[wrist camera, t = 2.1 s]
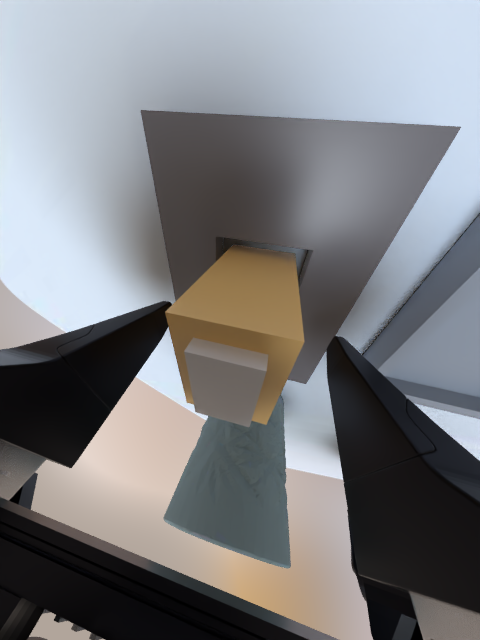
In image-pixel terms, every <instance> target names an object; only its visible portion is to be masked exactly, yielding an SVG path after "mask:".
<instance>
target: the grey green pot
mask: <svg viewBox="0 0 480 640" xmlns="http://www.w3.org/2000/svg"><path fill="white" fill-rule="evenodd" d="M284 439H285V437H284V408H283V399H282V397H281V395H280V396H279V398H278V400H277V403H276V405H275V407H274V409H273V411H272V413H271V416H270V418H269V420H268V422H267V424H266V425H265V424H262V423H258V422H254V421H251V424H250V427H246V426H242V425H239V424H235V423H232V422H228V421H225V420H222V419H218V418H215V417H211V416H208V419H207V421H206V422H205V424H204V425H203V427H202V431H201V435H200V438H199V439H198V442H197V445H196V447H195V449H194V450H193V452H192V454H191V457H190V458H189V461H188V463H187V465H186V467H185V469H184V472H183V474H182V476H181V479H180V481H179V483H178V486H177V488H176V491H175V493H174V495H173V497H172V500H171V502H170V504H169V506H168V509H167V511H166V513H165V516H164V521H165V522H167V523H168V524H170V525H172V526H174V527H176V528H178V529H180V530H182V531H184V532H186V533H188V534H191V535H193V536H195V537H198V538H200V539H203V540H206V541H208V542H211V543H213V544H216V545H219V546H221V547H224V548H227V549H229V550H232V551H235V552H238V553H240V554H243V555H246V556H249V557H252V558H254V559H257V560H260V561H263V562H266V563H269V564H273V565H276V566H280V567H284V568H290V566H291V563H290V545H289V530H288V528H289V527H288V513H287V494H286V489H285V483H286V472H285V469H286V458H285V440H284Z"/></svg>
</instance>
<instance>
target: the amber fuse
mask: <svg viewBox="0 0 480 640" xmlns="http://www.w3.org/2000/svg"><path fill="white" fill-rule="evenodd" d="M165 314H166V318H167V322H168V326H169V330H170V335H171V339H172V343H173V347H174V351H175V355H176V359H177V363H178V368H179V372H180V376H181V380H182V384H183V388H184V392H185V396H186V401H187V403H191V404H194V406H195V412H197V413H201V414H204V415H208V416H211V417H215V418H218V419H222V420H225V421H228V422H232V423H235V424H239V425H242V426H246V427H250V424H251V421H254V422H258V423H262V424H265V425H266V424H267V422H268V420H269V418H270V416H271V413H272V411H273V409H274V407H275V405H276V403H277V400H278V398H279V396H280V394H281V392H282V390H283V387H284V385H285V383H286V381H287V379H288V377H289V374H290V372H291V370H292V368H293V366H294V364H295V361H296V359H297V357H298V355H299V353H300V351H301V348H302V346H303V344H304V333H303V323H302V314H301V304H300V295H299V286H298V276H297V267H296V257H295V254H294V253H288V252H281V251H274V250H268V249H261V248H255V247H248V246H241V245H235V244H234V245H233V246H232V247H231V248H229V249H228V250H227V251H226V252H225V253H224V254H223V255H222V256H221V257H220V258H219V259H218V260H217V261H216V262H215V263H214V264H213V265H212V266H211V267H210V268H209V269H208V270H207V271H206V272H205V273H204V274H203V275H202V276H201V277H200V278H199V279H198V280H197V281H196V282H195V283H194V284H193V285H192V286H191V287H190V288H189V289H188V290H187V291H186V292H185V293H184V294H183V295H182V296H181V297H180V298H179V299H178V300H177V301H176V302H175V303H174V304H173V305H172V306H171V307H170V308H169V309H168V310H167V311H166V312H165Z"/></svg>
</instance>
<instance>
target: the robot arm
mask: <svg viewBox="0 0 480 640" xmlns="http://www.w3.org/2000/svg"><path fill="white" fill-rule="evenodd" d="M171 306H172V304H171V303H170V302H167V301H162V302H159V303H156V304H153V305H150V306H147V307H144V308H141V309H138V310H135V311H132V312H129V313H126V314H123V315H120V316H117V317H114V318H111V319H108V320H105V321H102V322H99V323H96V324H93V325H90V326H87V327H84V328H81V329H78V330H75V331H72V332H68V333H65V334H61V335H58V336H55V337H51V338H48V339H44V340H41V341H37V342H33V343H30V344H26V345H23V346H19V347H15V348H10V349H2V350H0V640H47V639H44V638H41V637H29V635H30V633H31V632H32V630H33V628H34V627H35V625H36V623H37V622H38V620H39V618H40V616H41V615H42V614H43V613H49V612H52V613H54V614H56V617H55V619H54V621H56V622H63V621H70V622H72V623H74V624H73V626H72V628H71V629H72V630H74V631H76V632H77V631H80V630H84V629H86V630H87V631H90V632H91V634H90V639H91V640H99V639H102V638H103V639H105V640H338V639H336V638H334V637H331V636H329V635H327V634H324V633H322V632H319V631H317V630H314V629H312V628H310V627H308V626H305V625H303V624H300V623H298V622H296V621H293V620H291V619H288V618H286V617H284V616H281V615H279V614H277V613H274V612H272V611H270V610H267V609H265V608H262V607H260V606H258V605H255V604H253V603H250V602H248V601H246V600H243V599H241V598H239V597H236V596H234V595H232V594H229V593H227V592H224V591H222V590H220V589H217V588H215V587H213V586H210V585H208V584H205V583H203V582H201V581H198V580H196V579H193V578H191V577H189V576H186V575H184V574H182V573H179V572H177V571H175V570H172V569H170V568H167V567H165V566H163V565H160V564H158V563H156V562H153V561H151V560H148V559H146V558H144V557H141V556H139V555H137V554H134V553H132V552H129V551H127V550H124V549H122V548H119V547H117V546H115V545H113V544H110V543H108V542H106V541H103V540H101V539H99V538H96V537H94V536H91V535H89V534H87V533H84V532H82V531H79V530H77V529H75V528H72V527H70V526H68V525H65V524H63V523H61V522H58V521H56V520H53V519H51V518H49V517H46V516H44V515H41V514H39V513H37V512H34V511H32V510H31V505H32V500H33V495H34V490H35V485H36V480H37V475H38V474H37V473H34V472H35V471H36V470H37V469H38V468H39V467H40V466H41V465H42V463H43V462H44V461H45V460H46V459H47V460H50V461H52V462H55V463H58V464H61V465H63V466H66V467H69V468H72V467H73V465H74V464H75V463H76V461H77V460H78V459H79V457H80V456H81V454H82V453H83V451H84V450H85V449H86V447H87V446H88V444H89V443H90V441H91V440H92V439H93V437H94V435H95V434H96V433H97V431H98V430H99V428H100V427H101V426H102V424H103V423H104V421H105V420H106V418H107V417H108V416H109V414H110V413H111V411H112V410H113V408H114V407H115V405H116V404H117V402H118V401H119V399H120V398H121V396H122V395H123V394H124V392H125V391H126V389H127V388H128V387H129V385H130V384H131V382H132V381H133V379H134V378H135V376H136V375H137V374H138V372H139V371H140V369H141V368H142V366H143V365H144V364H145V362H146V361H147V359H148V358H149V356H150V355H151V353H152V352H153V351H154V349H155V348H156V346H157V345H158V343H159V342H160V340H161V339H162V337H163V336H164V334H165V332H166V330H167V328H168V322H167V318H166V314H165V312H166V311H167V310H168V309H169V308H170V307H171ZM327 378H328V385H329V391H330V398H331V404H332V410H333V417H334V423H335V429H336V436H337V442H338V449H339V455H340V461H341V468H342V474H343V480H344V487H345V494H346V500H347V507H348V510H347V511H348V521H349V530H350V540H351V564H352V569H353V571H354V573H355V574H356V576H357V579H358V583H359V587H360V589H361V592H362V595H363V597H364V599H365V600H366V601H367V607H368V614H369V621H370V628H371V634H372V637H373V640H480V461H479V460H478V459H477V458H475V457H474V456H473V455H472V454H471V453H469V452H468V451H467V450H466V449H465V448H464V447H462V446H461V445H460V444H459V443H458V442H457V441H455V440H454V439H453V438H452V437H451V436H449V435H448V434H447V433H446V432H445V431H444V430H443V429H441V428H440V427H439V426H438V425H437V424H436V423H434V422H433V421H432V420H431V419H430V418H429V417H428V416H427V415H426V414H424V413H423V412H422V411H421V410H420V409H419V408H418V407H417V406H416V405H415V404H414V403H413V402H412V401H410V400H409V399H408V398H407V397H406V396H405V395H404V394H403V393H402V392H401V391H400V390H399V389H398V388H397V387H395V386H394V385H393V384H392V383H391V382H390V381H389V380H388V379H387V378H386V377H385V376H384V375H383V374H382V373H381V372H379V371H378V370H377V369H376V368H375V367H374V366H373V365H372V364H371V363H370V362H369V361H368V360H367V359H366V358H365V357H363V356H362V355H361V354H360V353H359V352H358V351H357V350H356V349H355V348H354V347H353V346H352V345H351V344H350V343H349V342H347V341H346V340H345V339H344V338H342V337H337V336H335V337H333V339H332V340H331V342H330V344H329V345H328V347H327Z"/></svg>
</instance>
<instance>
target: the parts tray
mask: <svg viewBox="0 0 480 640" xmlns="http://www.w3.org/2000/svg"><path fill="white" fill-rule="evenodd" d="M362 356H363V357H365V358H366V359H367V360H368V361H369V362H370V363H371V364H372V365H373V366H374V367H375V368H376V369H377V370H378V371H379V372H381V373H382V374H383V375H384V376H385V377H386V378H387V379H388V380H389V381H390V382H391V383H392V384H393V385H394V386H395V387H397V388H398V389H399V390H400V391H401V392H402V393H403V394H404V395H405V396H406V397H407V398H408V399H409V400H410V401H412V402H413V403H415V404H419V405H423V406H427V407H431V408H436V409H440V410H444V411H448V412H452V413H457V414H461V415H465V416H469V417H473V418H477V419H480V214H479V216H478V217H477V218H476V219H475V220H474V222H473V223H472V224H471V225H470V226H469V228H468V229H467V230H466V231H465V232H464V234H463V235H462V236H461V237H460V238H459V240H458V241H457V242H456V243H455V244H454V246H453V247H452V248H451V249H450V250H449V252H448V253H447V254H446V255H445V257H444V258H443V259H442V260H441V261H440V263H439V264H438V265H437V266H436V267H435V269H434V270H433V271H432V272H431V273H430V275H429V276H428V277H427V278H426V279H425V281H424V282H423V283H422V284H421V285H420V287H419V288H418V289H417V290H416V291H415V293H414V294H413V295H412V296H411V297H410V299H409V300H408V301H407V302H406V303H405V305H404V306H403V307H402V308H401V310H400V311H399V312H398V313H397V314H396V316H395V317H394V318H393V319H392V320H391V322H390V323H389V324H388V325H387V326H386V328H385V329H384V330H383V331H382V332H381V334H380V335H379V336H378V337H377V338H376V340H375V341H374V342H373V343H372V344H371V346H370V347H369V348H368V349H367V350H366V352H365V353H364V354H363V355H362Z"/></svg>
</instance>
